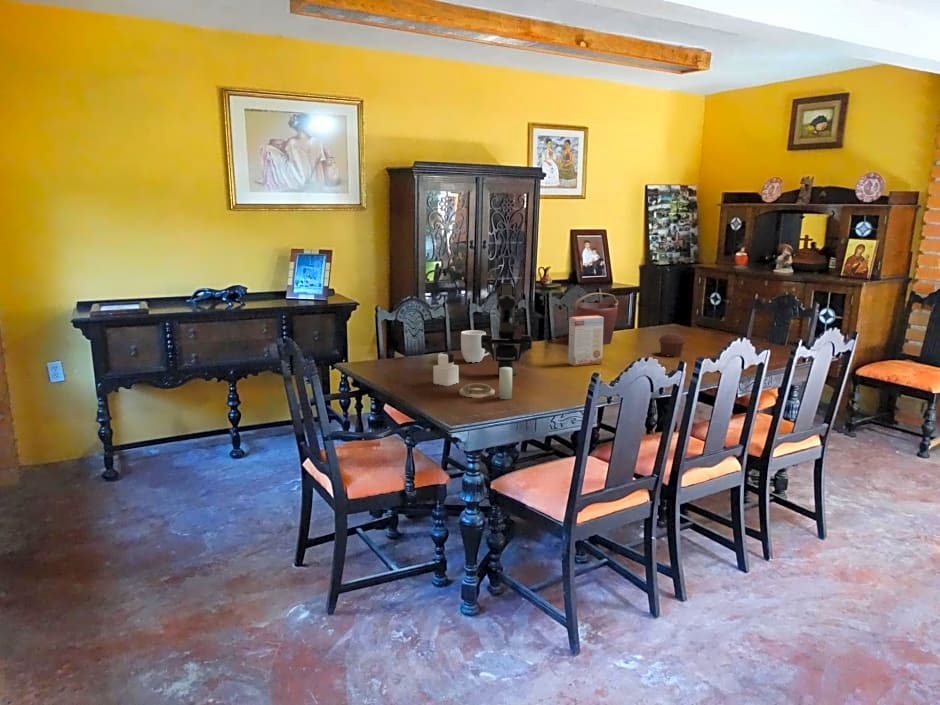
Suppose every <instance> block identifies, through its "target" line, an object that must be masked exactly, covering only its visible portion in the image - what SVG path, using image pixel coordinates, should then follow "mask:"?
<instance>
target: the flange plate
mask: <svg viewBox="0 0 940 705" xmlns="http://www.w3.org/2000/svg"><path fill="white" fill-rule="evenodd" d="M458 391H459V395H460V396H462V397H464V396H465V398H469V397H472V398H471V399H484V398H483V397H486V398H490V397H493V396H494V395H495V392H496V390H495V389H494V388H492V386H491V385H490V384H486V383H479V382H478V383H475V382H474V383H467V384H464V385H463V387H462V388H460V389H459V390H458ZM492 395H493V396H492ZM489 396H490V397H489Z"/></svg>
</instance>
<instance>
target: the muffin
mask: <svg viewBox="0 0 940 705" xmlns="http://www.w3.org/2000/svg"><path fill="white" fill-rule="evenodd" d="M658 341H659V344H660V354H661V353H662V354H664V355H669V356H679V355H681V356H682V354H683V349H684V345H685V343H686V341H685V338H684V337H683V336H682V335H680V334H678V333H675V332H668V333H667V332H666V333H665V334H663V335H662V336H660V338H659V339H658ZM679 357H680V356H679Z"/></svg>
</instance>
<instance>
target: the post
mask: <svg viewBox="0 0 940 705" xmlns="http://www.w3.org/2000/svg"><path fill="white" fill-rule="evenodd" d="M498 378H499V379H498V382H499V383H498V389H499V390H498V398H500V399H499V400H502V399H510V400H512V399H513V376H512V368H511V367H501V368H499V376H498ZM511 398H512V399H511Z"/></svg>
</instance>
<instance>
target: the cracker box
mask: <svg viewBox="0 0 940 705" xmlns="http://www.w3.org/2000/svg"><path fill="white" fill-rule="evenodd" d="M603 320H604V317H601V316H598V315H596V316H580V317H573V316H570V317H569V318H568V321H569V322H568V359H567V360H568V362H567V363H568V364H569V365H571V366H573V367H579V365H581V366H592V365H600V364H601V365H603V348H604V347H603V346H604V345H603Z"/></svg>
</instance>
